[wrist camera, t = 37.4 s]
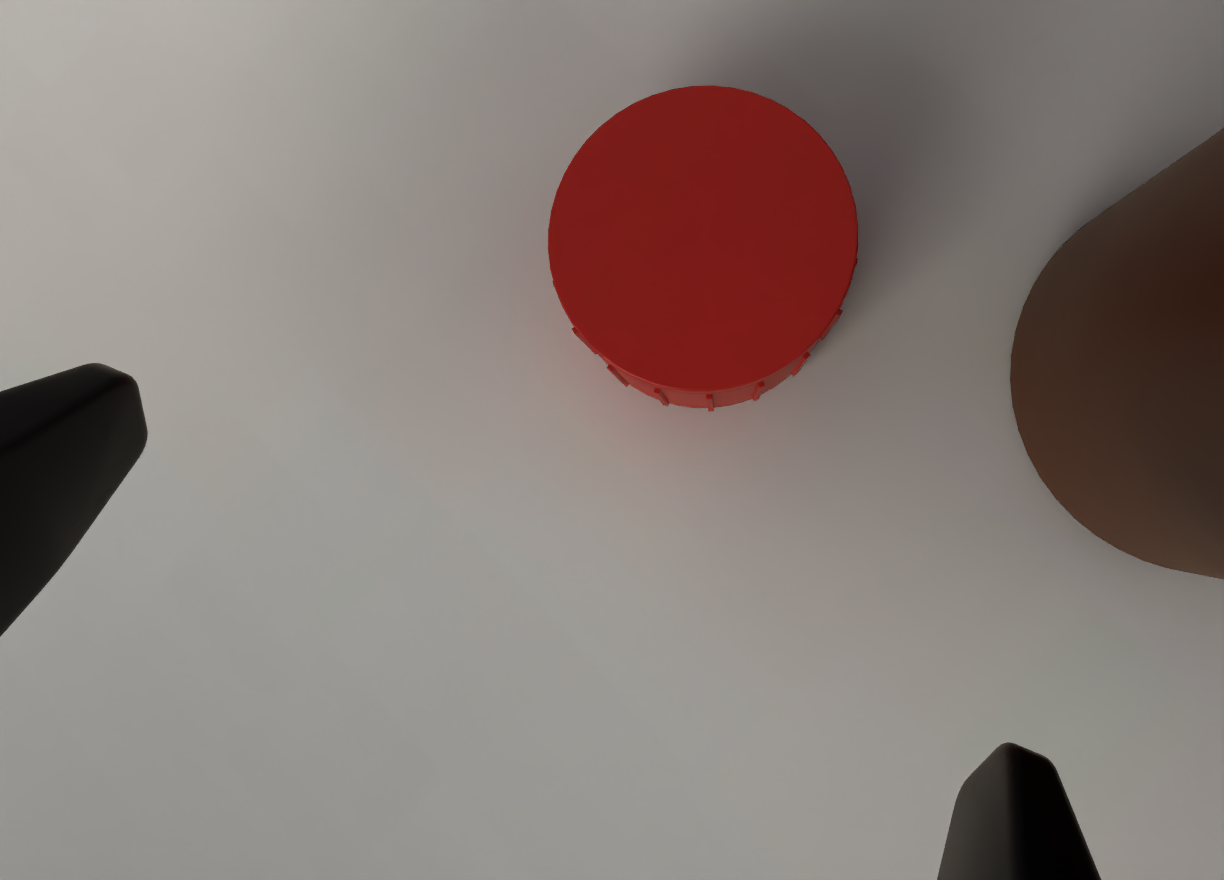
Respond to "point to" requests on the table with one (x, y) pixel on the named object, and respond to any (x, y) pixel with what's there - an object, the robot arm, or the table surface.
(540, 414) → the table surface
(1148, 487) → the sauce bottle
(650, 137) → the cap
